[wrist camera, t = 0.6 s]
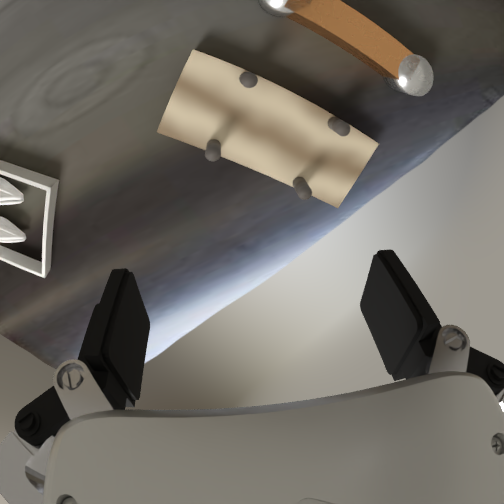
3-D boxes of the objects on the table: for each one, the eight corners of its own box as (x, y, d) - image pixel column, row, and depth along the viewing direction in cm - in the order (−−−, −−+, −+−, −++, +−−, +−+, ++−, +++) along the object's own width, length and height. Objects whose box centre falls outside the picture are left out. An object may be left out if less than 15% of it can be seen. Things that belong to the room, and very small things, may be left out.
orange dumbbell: (269, -29, 22) (275, -39, 19) (421, 68, 29) (439, 72, 26) (248, 5, 25) (252, -2, 21) (404, 98, 32) (421, 104, 29)
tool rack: (194, 50, 27) (190, 48, 23) (371, 139, 35) (390, 151, 31) (160, 128, 32) (151, 139, 28) (333, 201, 40) (345, 219, 36)
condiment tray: (-26, 151, 28) (-36, 157, 26) (59, 179, 34) (51, 187, 32) (-24, 236, 36) (-31, 244, 34) (50, 268, 42) (45, 278, 40)
